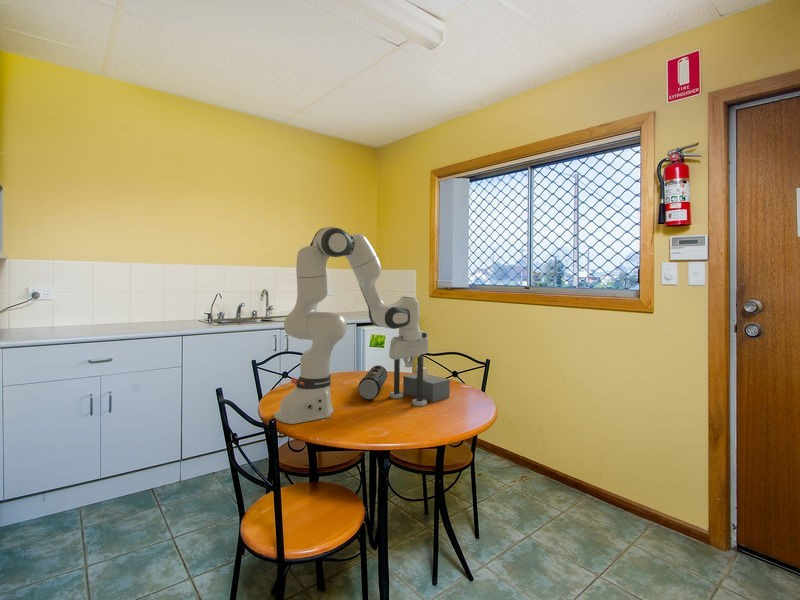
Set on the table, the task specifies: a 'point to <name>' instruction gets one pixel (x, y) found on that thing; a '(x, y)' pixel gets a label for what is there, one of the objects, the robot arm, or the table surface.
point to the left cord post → (396, 381)
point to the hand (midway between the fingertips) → (408, 366)
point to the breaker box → (427, 387)
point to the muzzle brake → (372, 382)
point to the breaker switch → (423, 373)
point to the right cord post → (419, 384)
